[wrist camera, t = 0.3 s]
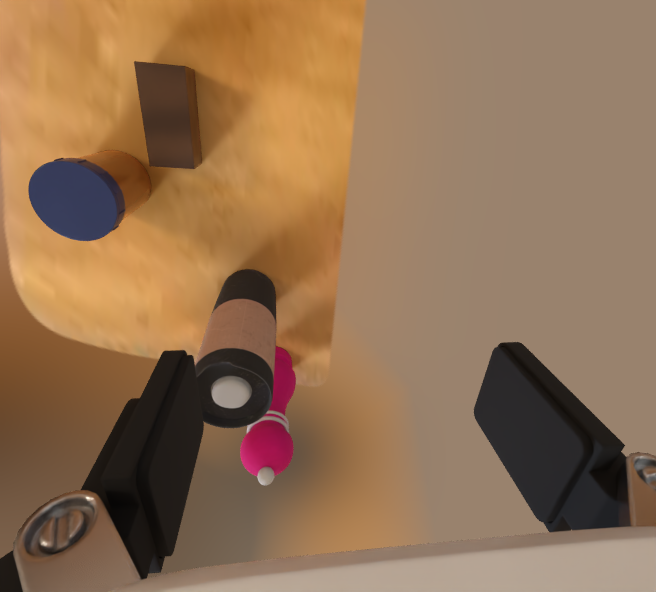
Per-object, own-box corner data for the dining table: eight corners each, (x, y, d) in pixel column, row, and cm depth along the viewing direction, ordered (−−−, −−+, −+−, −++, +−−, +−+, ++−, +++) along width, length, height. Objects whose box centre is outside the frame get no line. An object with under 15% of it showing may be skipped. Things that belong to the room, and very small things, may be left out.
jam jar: (81, 147, 38) (24, 160, 30) (146, 152, 39) (108, 165, 31) (95, 208, 41) (47, 235, 33) (155, 211, 42) (123, 238, 34)
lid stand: (148, 65, 35) (133, 61, 32) (194, 69, 36) (184, 66, 33) (161, 160, 40) (149, 166, 36) (202, 163, 40) (194, 168, 37)
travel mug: (259, 325, 51) (247, 439, 34) (210, 300, 49) (169, 411, 31) (288, 284, 49) (290, 386, 31) (237, 256, 46) (209, 350, 29)
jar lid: (30, 155, 31) (16, 158, 29) (117, 160, 32) (108, 163, 30) (53, 233, 34) (42, 239, 33) (131, 235, 35) (124, 242, 34)
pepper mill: (273, 334, 52) (267, 450, 35) (304, 362, 55) (313, 482, 38) (237, 361, 54) (214, 484, 36) (269, 387, 57) (263, 512, 40)
